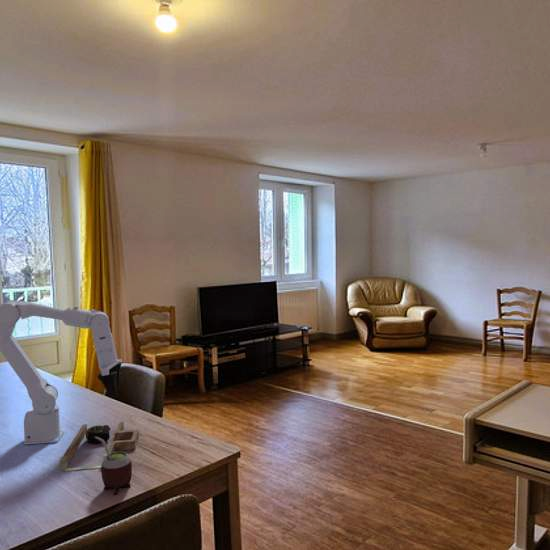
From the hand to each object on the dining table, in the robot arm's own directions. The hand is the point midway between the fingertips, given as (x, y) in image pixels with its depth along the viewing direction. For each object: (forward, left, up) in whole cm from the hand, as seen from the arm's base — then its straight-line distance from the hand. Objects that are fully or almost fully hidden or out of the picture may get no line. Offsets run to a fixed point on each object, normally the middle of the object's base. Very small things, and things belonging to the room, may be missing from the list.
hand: (114, 389), depth 150 cm
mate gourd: (+6, -39, -13) cm, 42 cm away
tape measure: (-3, -8, -13) cm, 16 cm away
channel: (-1, -14, -13) cm, 19 cm away
